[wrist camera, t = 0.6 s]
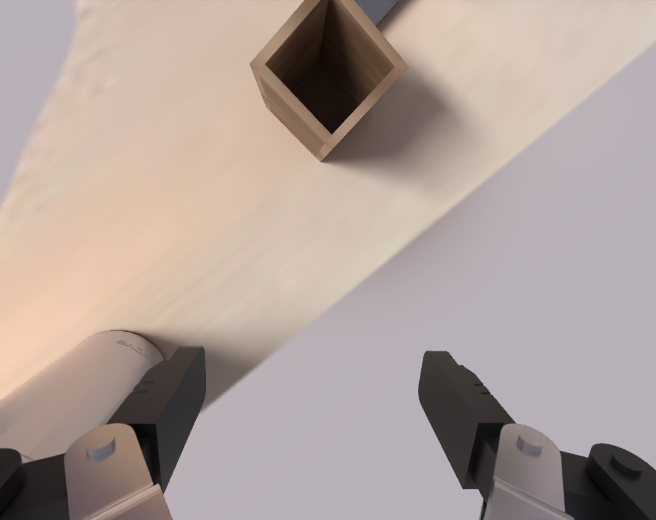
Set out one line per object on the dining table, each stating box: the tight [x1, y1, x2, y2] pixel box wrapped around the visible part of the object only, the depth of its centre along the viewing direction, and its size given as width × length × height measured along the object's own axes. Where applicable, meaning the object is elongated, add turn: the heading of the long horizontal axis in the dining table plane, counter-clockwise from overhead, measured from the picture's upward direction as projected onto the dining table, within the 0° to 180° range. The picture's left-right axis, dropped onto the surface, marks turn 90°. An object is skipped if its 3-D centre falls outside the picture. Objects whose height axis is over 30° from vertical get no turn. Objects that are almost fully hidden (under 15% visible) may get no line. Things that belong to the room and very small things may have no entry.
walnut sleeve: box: [250, 0, 409, 162], centre depth 23 cm, size 7×7×10 cm
